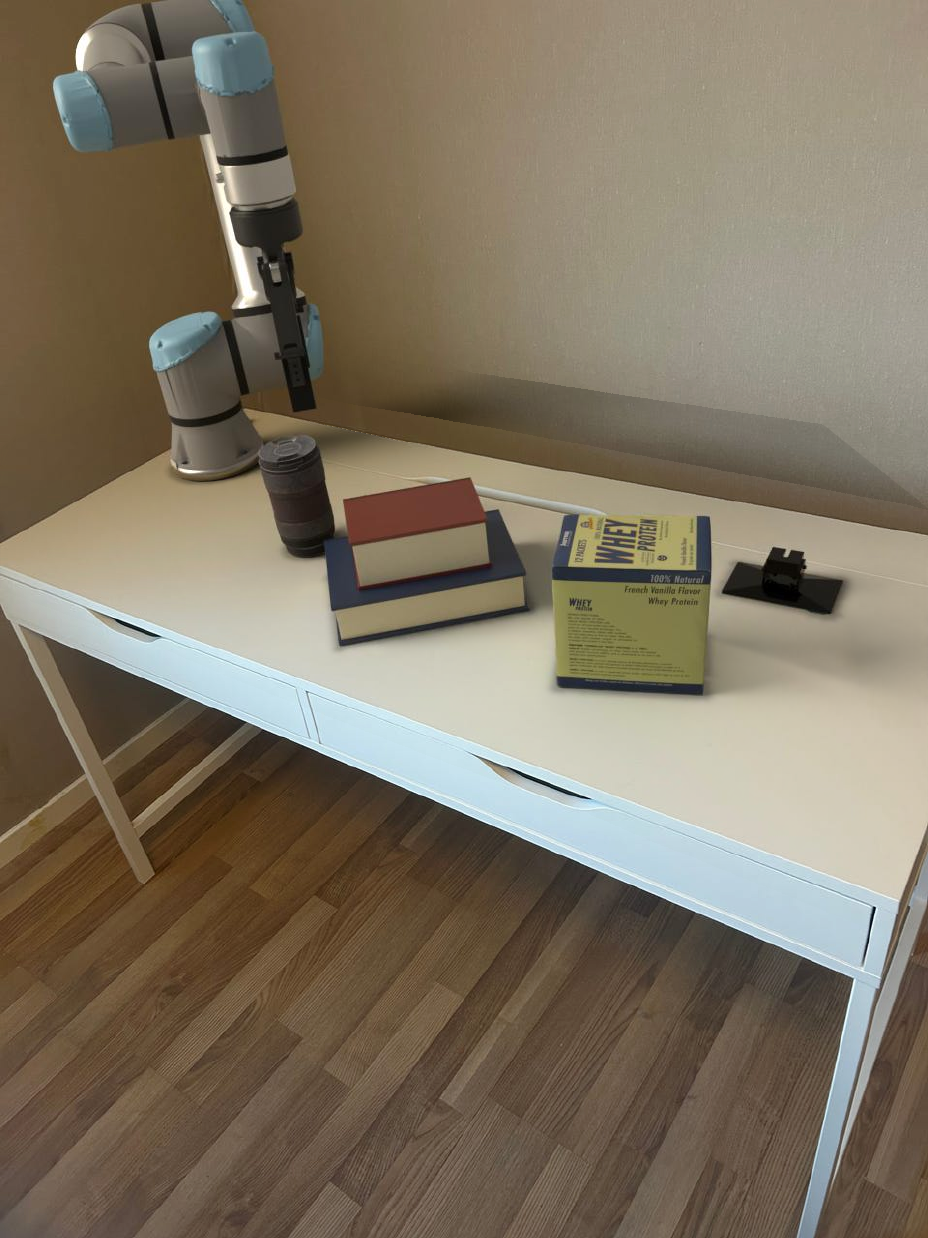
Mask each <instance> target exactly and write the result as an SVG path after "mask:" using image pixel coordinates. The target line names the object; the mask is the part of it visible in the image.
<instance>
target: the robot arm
mask: <svg viewBox="0 0 928 1238" xmlns="http://www.w3.org/2000/svg"><path fill="white" fill-rule="evenodd" d="M75 51H76V52H75V64H76V69H77V70H74V72H70V73H66V74H65V73H64V74H61V75H58V76H56V77H55V78H54V80H53V83H52V88H53V94H54V99H55V103H56V107H57V110H58V113H59V116H60V121H61V123H62V126H63V128H64V131H65V135H66V136H67V139H68V141H69V143H70V145H71V146H72V148H73V149H74V150H76V151H77V152H80V153H91V152H105V153H106V152H111V150H115V149H121V148H126V147H132V146H138V145H145V144H150V143H156V142H162V141H170V140H171V141H172V140H178V139H179V140H180V139H184V138H185V139H186V138H192V137H199V139H200V143H201V147H202V152H203V155H204V159H205V164H206V168H207V171H208V175H209V180H210V183H211V188H212V191H213V196H214V200H215V204H216V208H217V213H218V216H219V220H220V224H221V229H222V233H223V237H224V241H225V246H226V249H227V253H228V257H229V262H230V265H231V269H232V273H233V278H234V281H235V285H236V290H237V296H236V298H235V300H234V301H233V303H232V304H231V311H232V314H233V318H232V319H228V320H223V321H222V317H221V316H219V314H218V313H217V312H215V311H204V312H203V311H200V312H194V313H190V314H187V315H184V316H180V317H178V318H175V319H174V320H171V321H169V322H167V323H166V324H163V325H162V326H161V327H159V328H157V330H155V331H154V332H153V334H152V335H151V337H150V338H149V342H148V347H149V352H150V356H151V361H152V369H153V371H155V372H156V376H157V379H158V383H159V386H160V390H161V393H162V396H163V399H164V400H163V401H164V403H165V407H166V410H167V414H168V416H169V419H170V422H171V449H170V450H171V453H170V457H169V459H170V465H171V466H172V469H173V472H174V473H175V475H177V476H178V477H180V478H182V479H184V480H188V481H195V482H196V481H197V482H207V481H216V480H221V479H222V480H223V479H225V478H229V477H232V476H236V475H239V474H241V473H244V472H246V471H248V470H250V469H252V468H254V467H255V466H256V465H257V464H259V451H260V449H261V448H262V447H263V446H264V445H265V444H264V442H263V441H264V440H263V439H262V437H261V435H260V434H259V432H258V431H257V429H256V427H255V426H254V425H253V423H252V421H251V420H250V418H249V416H248V415H247V413H246V412H245V410H244V408H243V404H242V401H241V396H245V395H251V394H252V395H253V394H257V393H261V392H265V391H271V390H275V389H281V388H285V387H287V391H288V396H289V399H290V404H291V405H290V406H291V409H292V413H293V414H294V413H300V412H305V411H312V410H317V404H316V398H315V394H314V390H313V385H312V381H315V380H317V379H318V378H320V377H321V375H322V374H323V371H324V361H325V360H324V358H325V357H324V342H323V331H322V323H321V319H320V312H319V309H318V306H317V305H316V304H313V303H311V302H309V303H308V302H307V297H306V294H305V292H304V291H302V289H300V288H298V287H297V286H296V282H295V281H296V280H295V279H296V278H295V274H296V270H295V264H294V258H293V253H292V251H286V247H285V243H290V242H294V241H296V240H297V239H299V238H300V237H301V236H302V235H303V232H304V227H303V222H302V216H301V211H300V206H299V202H298V200H296V199H295V198H294V197H293V196H294V195H296V193H297V187H296V183H295V177H294V172H293V167H292V161H291V156H290V152H289V151H288V145H287V143H286V138H285V132H284V127H283V121H282V120H283V119H282V114H281V109H280V104H279V98H278V93H277V87H276V81H275V77H274V76H275V67H274V65H273V64H272V60H271V58H270V54H269V53H270V52H269V49H268V44H267V41H266V39H265V37H264V36H263V35H262V34H261V33H260V32H258V31H256V29H255V27H254V24H253V22H252V19H251V16H250V14H249V12H248V9H247V7H246V6H245V4H244V2H243V1H242V0H158V1H153V2H144V3H134V4H130V5H125V6H122V7H120V8H117V9H115V10H112V11H111V12H109V13H107V14H105V15H104V16H102V17H100V18H99V19H97V20H96V21H95V22H93V23H92V24H91V25H89V26H88V27H87V28H86V30H85V31H84V32H83V34H82V35H81V36H80V38H79V40H78V43H77V46H76V50H75Z"/></svg>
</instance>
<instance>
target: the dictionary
mask: <svg viewBox="0 0 928 1238" xmlns="http://www.w3.org/2000/svg"><path fill="white" fill-rule="evenodd" d="M342 501H343V502H342V505H343V510H344V517H345V525H346V530H347V536H348V539H349V545H350V547H352V549H353V556H354V563H355V570H356V576H357V583H358V589H359V590H365V589H370V588H376V587H381V586H387V585H392V584H398V583H403V582H409V581H414V580H420V579H425V578H431V577H436V576H441V575H447V574H452V573H458V572H463V571H469V570H474V569H480V568H485V567H491V566H492V562H491V559H490V557H489V554H488V544H487V535H486V525H485V523H486V522H488V519H487V516H486V514H485V510H484V507H483V505H482V502H481V500H480V497H479V495H478V492H477V490H476V488H475V485H474V483H473V480H472V477H470V476H469V477H464V478H463V477H462V478H457V479H451V480H447V481H441V482H434V483H428V484H423V485H418V486H412V487H411V486H410V487H407V488H401V489H394V490H389V491H383V492H378V493H372V494H371V493H370V494H365V495H360V496H355V497H354V496H353V497H349V498H343V499H342Z"/></svg>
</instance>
